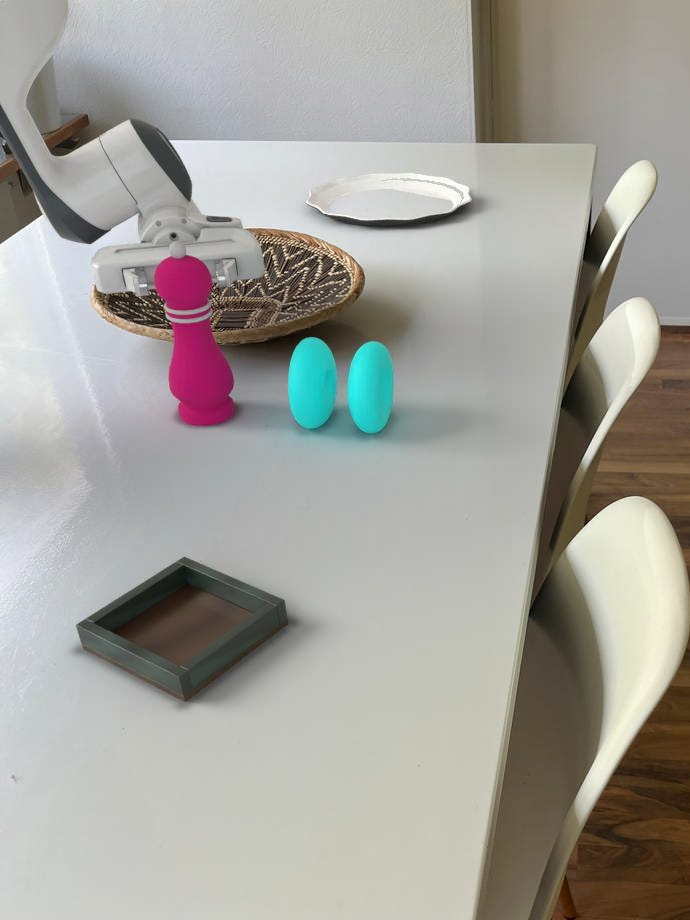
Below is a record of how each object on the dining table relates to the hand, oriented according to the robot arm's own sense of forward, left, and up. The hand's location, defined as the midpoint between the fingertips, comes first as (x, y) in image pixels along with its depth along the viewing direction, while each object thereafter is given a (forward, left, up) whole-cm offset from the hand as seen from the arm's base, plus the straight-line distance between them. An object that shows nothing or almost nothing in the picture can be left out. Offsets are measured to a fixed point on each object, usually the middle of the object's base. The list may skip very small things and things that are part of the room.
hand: (183, 285), depth 120 cm
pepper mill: (+8, -7, -12) cm, 16 cm away
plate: (-25, +71, -12) cm, 76 cm away
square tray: (+37, -38, -12) cm, 54 cm away
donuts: (+23, 0, -12) cm, 26 cm away
